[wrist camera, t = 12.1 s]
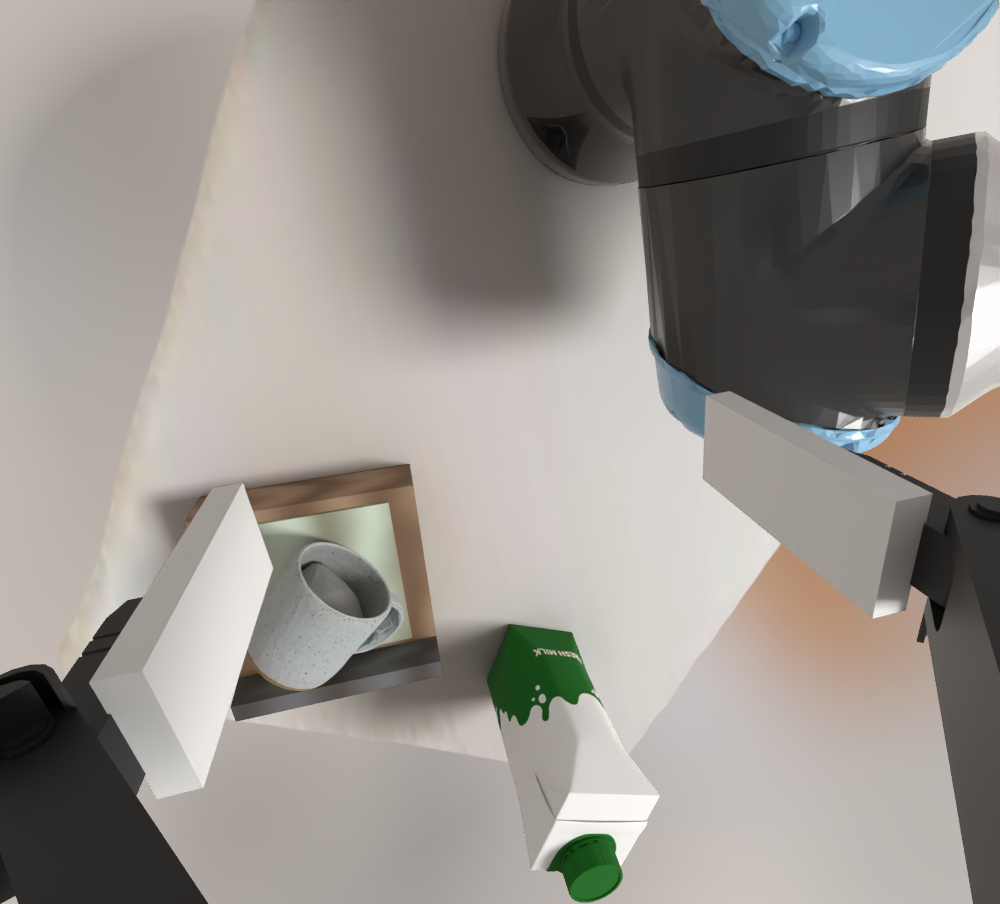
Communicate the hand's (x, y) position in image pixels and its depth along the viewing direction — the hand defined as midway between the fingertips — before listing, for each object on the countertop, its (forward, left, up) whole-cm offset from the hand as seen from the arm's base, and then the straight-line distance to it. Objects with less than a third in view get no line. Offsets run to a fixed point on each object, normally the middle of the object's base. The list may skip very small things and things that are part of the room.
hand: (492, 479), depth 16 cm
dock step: (+10, +19, -28) cm, 35 cm away
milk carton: (-7, +34, -28) cm, 45 cm away
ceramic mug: (+9, +19, -24) cm, 32 cm away
